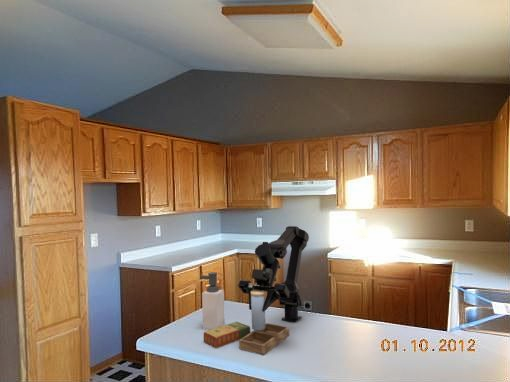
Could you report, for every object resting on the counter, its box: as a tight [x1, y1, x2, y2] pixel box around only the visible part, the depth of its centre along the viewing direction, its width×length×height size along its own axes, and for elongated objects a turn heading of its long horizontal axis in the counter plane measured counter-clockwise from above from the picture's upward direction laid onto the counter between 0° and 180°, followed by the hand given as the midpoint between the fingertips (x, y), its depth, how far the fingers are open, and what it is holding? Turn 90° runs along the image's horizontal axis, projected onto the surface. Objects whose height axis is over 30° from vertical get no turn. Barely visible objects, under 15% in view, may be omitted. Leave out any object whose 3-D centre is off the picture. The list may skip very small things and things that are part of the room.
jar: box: [250, 290, 266, 331], centre depth 131 cm, size 5×5×13 cm
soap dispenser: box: [199, 271, 226, 331], centre depth 151 cm, size 6×9×22 cm
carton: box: [203, 321, 251, 349], centre depth 139 cm, size 8×16×4 cm, turn 132°
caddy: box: [238, 322, 290, 356], centre depth 135 cm, size 19×10×3 cm, turn 149°
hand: (256, 310), depth 130 cm, fingers closed on jar, 5 cm apart
